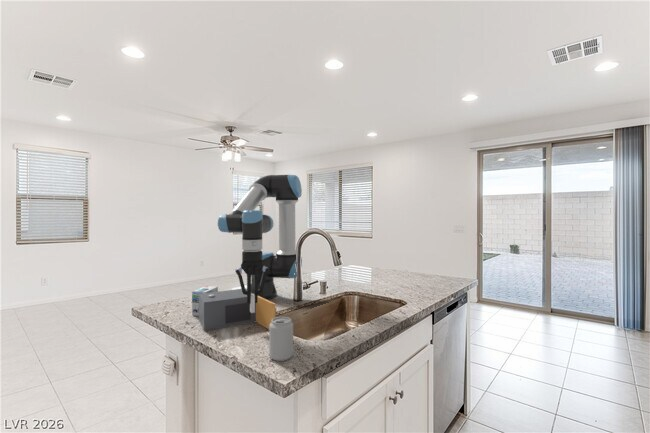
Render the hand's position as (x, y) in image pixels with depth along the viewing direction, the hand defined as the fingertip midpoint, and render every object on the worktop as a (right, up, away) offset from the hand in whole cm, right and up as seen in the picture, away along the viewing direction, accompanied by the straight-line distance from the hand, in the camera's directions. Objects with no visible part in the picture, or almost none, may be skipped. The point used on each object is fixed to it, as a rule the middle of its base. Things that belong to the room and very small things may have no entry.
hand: (252, 311), depth 121 cm
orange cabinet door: (+4, -7, +4) cm, 9 cm away
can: (+14, -8, -22) cm, 27 cm away
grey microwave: (-13, -7, +10) cm, 18 cm away
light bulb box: (-26, -7, +21) cm, 34 cm away
